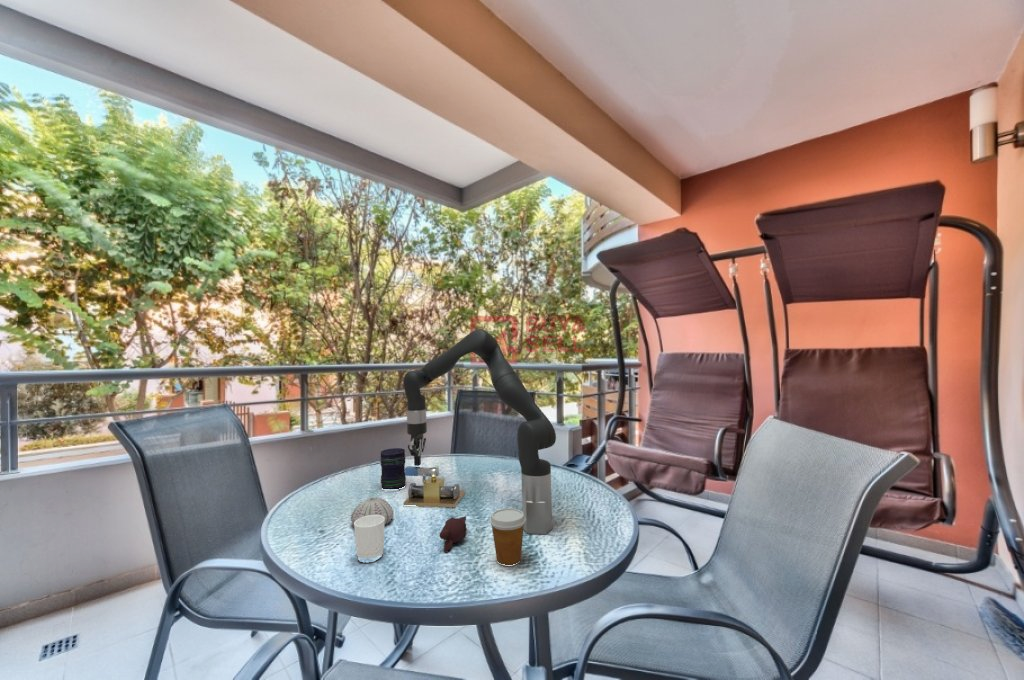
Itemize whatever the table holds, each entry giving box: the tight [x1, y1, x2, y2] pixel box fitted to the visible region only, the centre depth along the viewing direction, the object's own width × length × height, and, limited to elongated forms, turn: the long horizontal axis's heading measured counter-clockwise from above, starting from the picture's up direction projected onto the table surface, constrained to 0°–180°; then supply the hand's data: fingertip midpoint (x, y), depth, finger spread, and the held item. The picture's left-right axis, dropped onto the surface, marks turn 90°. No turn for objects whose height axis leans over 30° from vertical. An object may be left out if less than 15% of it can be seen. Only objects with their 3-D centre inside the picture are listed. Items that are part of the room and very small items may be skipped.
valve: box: [403, 474, 466, 509], centre depth 152 cm, size 14×19×10 cm
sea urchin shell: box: [350, 496, 395, 525], centre depth 133 cm, size 13×14×8 cm
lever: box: [405, 465, 440, 478], centre depth 152 cm, size 13×4×3 cm, turn 78°
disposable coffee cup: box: [489, 507, 526, 565], centre depth 108 cm, size 10×10×12 cm
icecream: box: [439, 516, 467, 552], centre depth 119 cm, size 7×7×15 cm
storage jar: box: [379, 447, 407, 489], centre depth 167 cm, size 10×10×15 cm
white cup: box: [353, 515, 386, 558], centre depth 111 cm, size 8×8×10 cm
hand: (417, 465), depth 160 cm, fingers closed
